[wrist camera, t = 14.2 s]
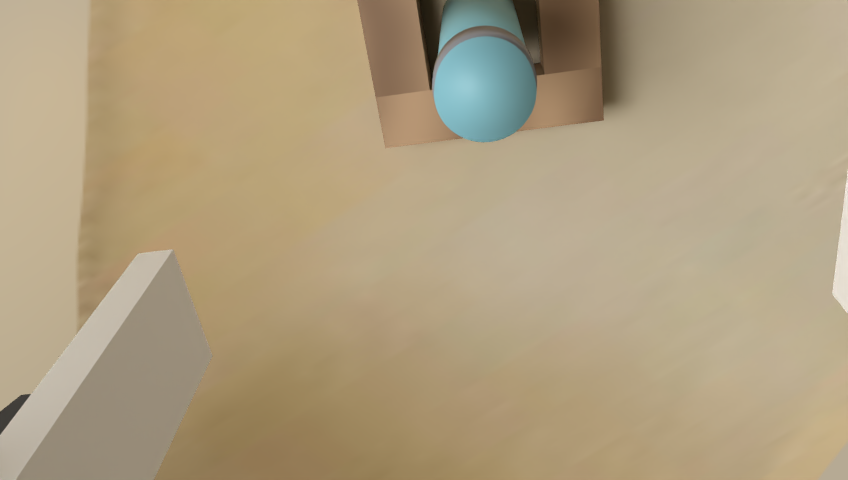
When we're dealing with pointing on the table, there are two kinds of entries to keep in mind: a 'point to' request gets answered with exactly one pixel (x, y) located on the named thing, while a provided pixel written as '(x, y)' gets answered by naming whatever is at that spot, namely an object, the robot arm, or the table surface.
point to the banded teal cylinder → (483, 70)
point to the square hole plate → (412, 84)
